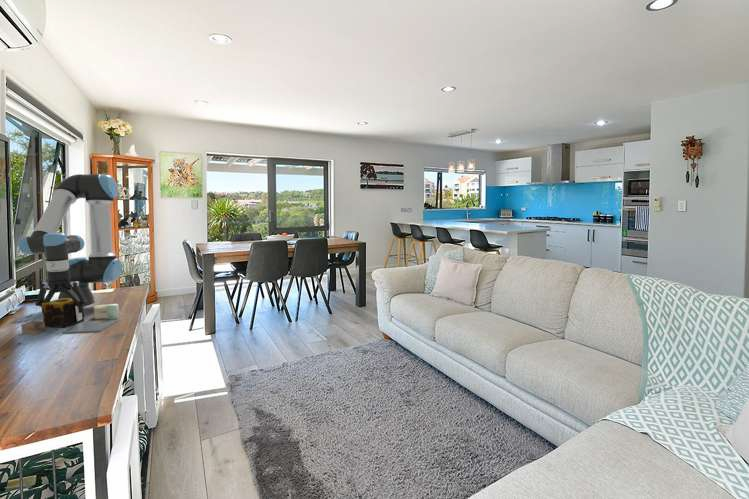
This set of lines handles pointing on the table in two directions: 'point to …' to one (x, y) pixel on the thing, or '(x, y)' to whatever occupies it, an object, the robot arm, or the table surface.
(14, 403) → the table surface
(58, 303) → the candle
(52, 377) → the table surface
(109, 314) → the sage capsule
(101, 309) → the maple block
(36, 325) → the walnut block
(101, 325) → the coaster
